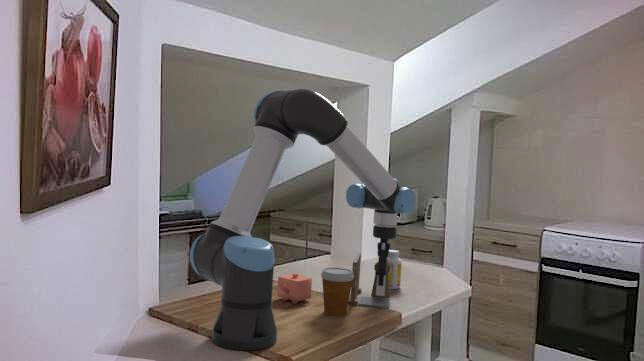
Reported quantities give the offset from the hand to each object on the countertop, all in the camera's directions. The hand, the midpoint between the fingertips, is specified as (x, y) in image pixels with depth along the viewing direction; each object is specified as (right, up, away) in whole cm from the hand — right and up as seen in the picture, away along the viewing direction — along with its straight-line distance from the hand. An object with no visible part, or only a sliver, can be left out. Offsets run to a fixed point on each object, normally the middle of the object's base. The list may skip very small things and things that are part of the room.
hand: (380, 290), depth 171 cm
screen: (-9, -1, -5) cm, 10 cm away
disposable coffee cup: (-15, -2, -22) cm, 27 cm away
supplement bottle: (+5, -2, +12) cm, 13 cm away
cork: (0, -2, 0) cm, 2 cm away
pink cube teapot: (-28, -1, -12) cm, 31 cm away
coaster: (-3, -2, -10) cm, 10 cm away
